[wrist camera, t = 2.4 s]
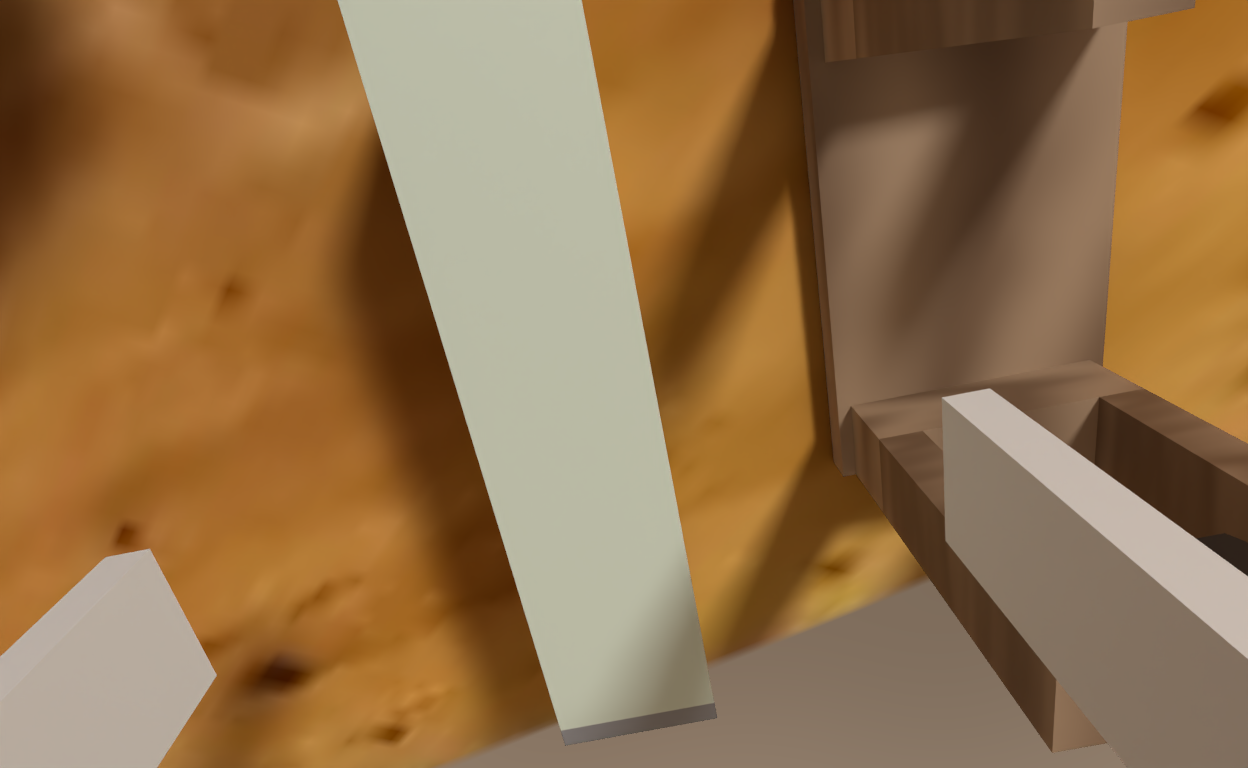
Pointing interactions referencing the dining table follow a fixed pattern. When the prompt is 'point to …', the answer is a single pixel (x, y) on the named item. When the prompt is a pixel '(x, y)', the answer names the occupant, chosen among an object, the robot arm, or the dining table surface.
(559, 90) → the cream rectangular block
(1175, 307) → the dining table surface
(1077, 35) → the u-shaped post stand
